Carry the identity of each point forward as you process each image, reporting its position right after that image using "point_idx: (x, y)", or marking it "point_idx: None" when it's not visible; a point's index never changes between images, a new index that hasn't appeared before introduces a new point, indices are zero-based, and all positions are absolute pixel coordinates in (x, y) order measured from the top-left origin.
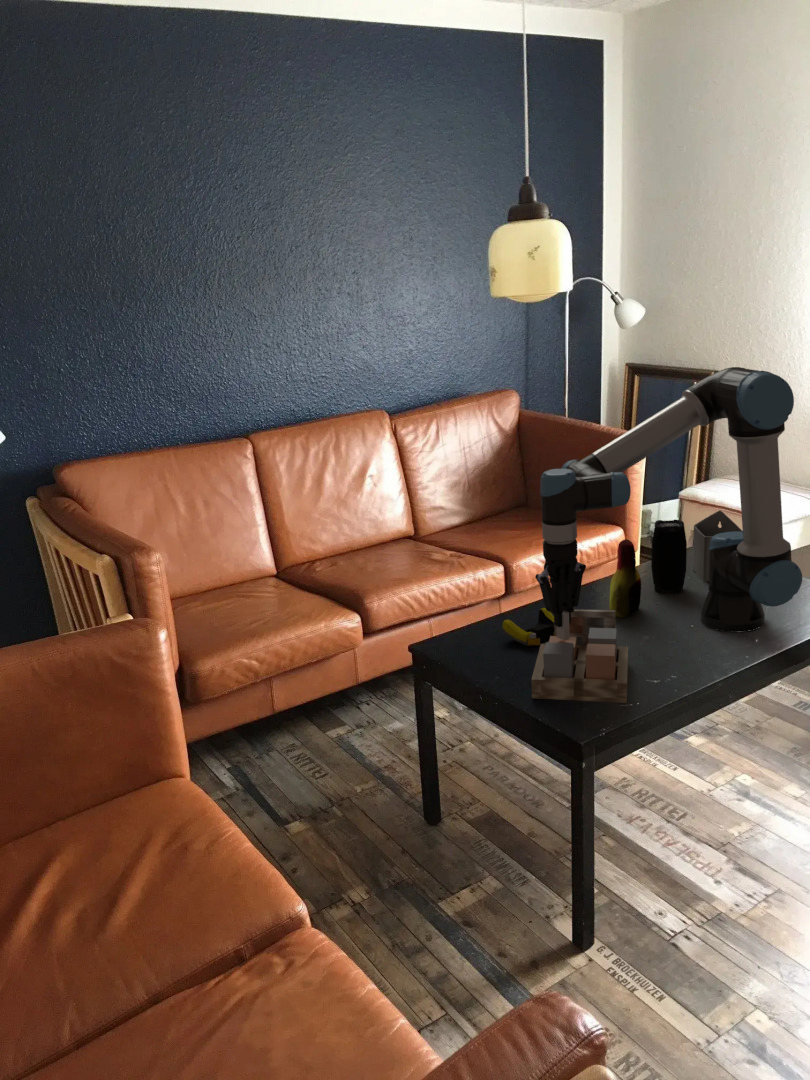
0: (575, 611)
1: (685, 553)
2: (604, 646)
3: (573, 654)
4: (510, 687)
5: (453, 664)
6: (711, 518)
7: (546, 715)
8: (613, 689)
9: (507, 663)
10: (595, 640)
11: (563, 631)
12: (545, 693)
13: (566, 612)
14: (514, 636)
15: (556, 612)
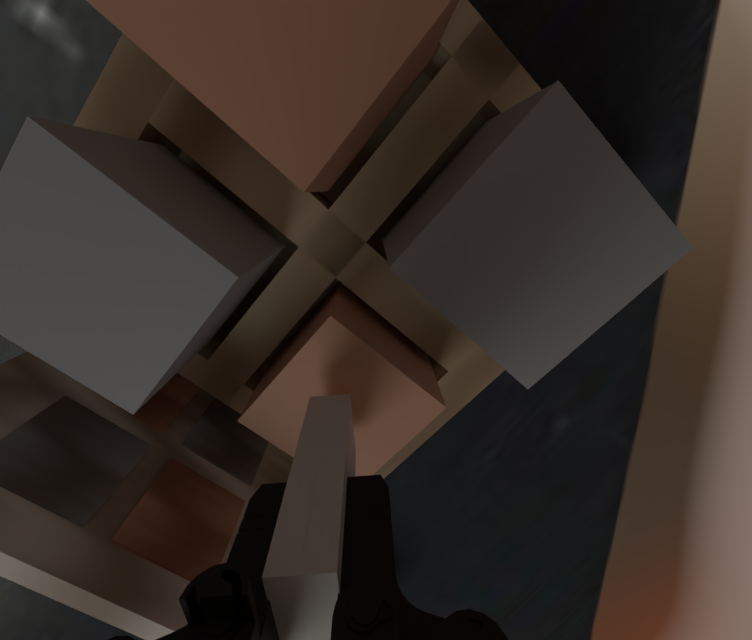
0: (123, 603)
1: None
2: (205, 32)
3: (398, 238)
4: (584, 342)
5: (592, 552)
6: None
7: (673, 43)
8: None
9: (465, 483)
10: (197, 236)
11: (348, 439)
12: None
13: (284, 587)
14: None
15: (420, 623)
